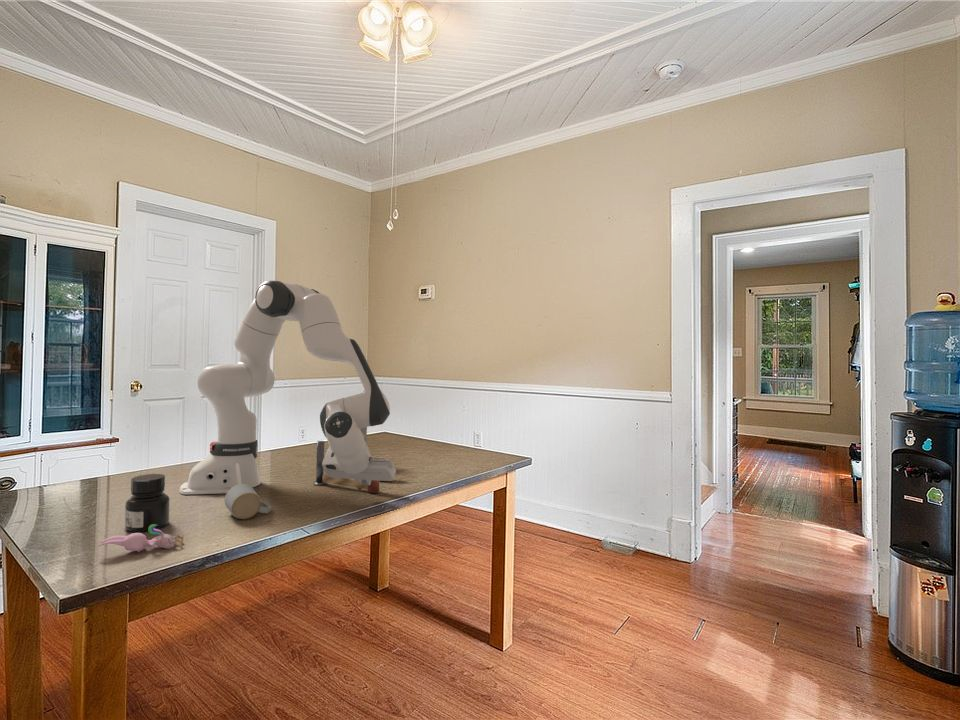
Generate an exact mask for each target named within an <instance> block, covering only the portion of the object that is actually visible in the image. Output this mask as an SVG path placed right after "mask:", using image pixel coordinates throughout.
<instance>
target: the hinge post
mask: <svg viewBox="0 0 960 720" xmlns="http://www.w3.org/2000/svg"><path fill="white" fill-rule="evenodd" d="M324 456H325V440H318V441H317V440H316V456H315V457H316V458H315V460H316V465H315V471H316V472H315V481H313V482H312V483H313V486H316V485H321V486H325V485H326V484H327V483H324V482H322V479H323V475H324V474H325V472H324V469H323V466H322V462H323V459H324Z"/></svg>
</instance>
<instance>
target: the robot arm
mask: <svg viewBox="0 0 960 720" xmlns="http://www.w3.org/2000/svg"><path fill="white" fill-rule="evenodd" d="M286 321H289V322H298V323H299V326H300V332H301V336H302V340H303V342H304V346H305V348H306V350H307V351H308V353H309V354H310V355H312V356H313V357H315V358H316V359H317V358H318V359H320V360H324V361H327V362H328V361H330V362H331V361H332V362H341V363H347V364H349V365H351V366H352V367H353V368H354V369H355V371H356V374H357V376H358V379H359V380H360V383H361V385H362V386H363V388H364V390H363V391H362V392H361V393H358V394H354V395H350V396H347V397H342V398H337V399H335V400H331V401H328V402H326V403H324V406H323V408H322V409H321V412H320V414H319V423H320V428H321V431H322V433H323V435H324V437H325V438H326V441H327V443H328V448H327V450H326V452H325V453H324V459H323V462H322V466H323V469H324V474H326V475H327V476H329V477H331V478H347V479H354V480H356V481H358V482H359V483H360V484H361V485H370V484H371V480H378V481H392V480H393V481H394V479H395V476H396V473H397V469H396V467H395V464H393V461H392V460H390V459H389V458H388V457H381V456H377V457H372V454H371V451H370V448H369V447H368V444H367V441H366V442H365V441H364V438H363V434H362V432H361V430H360V429H362V428H365V427H367V428H368V427H374V426H381V425H383V424H384V423H385V422H386V421H387V420H388V418H389V416H390V415H391V408H390V404H389V403H390V402H389V401H388V398H387V397H386V396H385V393H384V392H383V391H382V389H381V388H380V386H379V385H378V382H377V380H376V378H375V376H374V374H373V371H372V368H371V367H370V364H369V363H368V361H367V359H366V356H365V355H364V353H363V351H362V349H361V347H360V345H359V344H358V342H357V341H356V340H355V339H353V338H349V337H348V336H347V335H346V334H345V333H344V331H343V329H342V326H341V321H340V318H339V316H338V313H337V311H336V309H335V306H334V304H333V301H332V300H331V299H330V298H329V297H328V296H327V295H326V294H323V293H321V292H319V291H318V290H316V289H313V288H308V287H307V286H303V285H299V284H295V283H289V282H282V281H280V280H266V281H264V282H262V283H261V284H259V286H258V288H257V290H256V293H255V296H254V299H253V300H252V302H251V304H250V305H249V307H248V309H247V311H246V313H245V314H244V317H243V319H242V320H241V324H240V327H239V328H238V331H237V333H236V335H235V337H234V342H233V344H234V347H235V349H236V350H237V351H238V352H239V353H240V354H239V360H238V362H237V363H219V364H216V365H215V364H214V365H212V366H207V367H205V368H203V369H202V370H201V371H200V373H199V375H198V377H197V388H198V390H199V392H200V394H201V395H202V396H204V398H205V399H207V400H208V401H209V402H210V403H211V405H212V407H213V409H214V412H215V414H216V421H217V424H216V425H217V441H215V440H213V441H212V442H210V444H209V453H210V454H209V455H207V456H206V457H205V458H204V459H202V460H201V461H198V463H196V464H195V465H194V466H193V467H192V469H191V470H190V472H189V474H188V480H187V481H185V482H183V483H182V484H181V485H180V487H179V493H180V494H181V495H208V494H209V495H210V494H211V495H212V494H213V495H214V494H227V492H228V491H229V490H230V489H231V488H232V487H234V486H235V485H239V484H247V485H249V486H251V487H252V488H253V489H254V488H255V487H257V486H259V485H261V484H262V482H261V478H260V475H259V471H258V461H257V458H258V455H259V453H258V452H259V443H258V439H257V422H258V421H257V420H258V419H257V416H256V415H255V413H254V412H253V411H251V410H249V409H248V407H247V404H246V401H245V398H251V397H259V396H261V395H264V394H267V393H268V392H270V391H271V390H272V389H273V387H274V385H275V382H276V381H275V373H274V371H273V370H272V369H271V365H270V364H271V361H270V359H271V355H272V352H273V350H274V349H273V348H274V347H275V344H276V342H277V339H278V336H279V334H280V332H281V329H282V328H283V327H282V326H283V324H284V322H286Z"/></svg>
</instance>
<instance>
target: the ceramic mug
mask: <svg viewBox="0 0 960 720" xmlns="http://www.w3.org/2000/svg"><path fill="white" fill-rule="evenodd" d="M224 504H225V507H226V509H228V511H229V512H230V514H231V515H232V516H233V517H235V518H236V519H239V520H249V519H251V518H253V517H255V516H256V515H257V514H258V513H261V514H270V512H271V510H272V506H271V505H270V504H268V503H266V502H264V501H262V500H261V498H260V496H259V495H258V493H257V491H255V489H254V487H253V488H252V487H251V486H249V485H247V484H239V485H235V486H234V487H232V488H231V489H230V490H229V491H228V492H227V493H225V497H224Z"/></svg>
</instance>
